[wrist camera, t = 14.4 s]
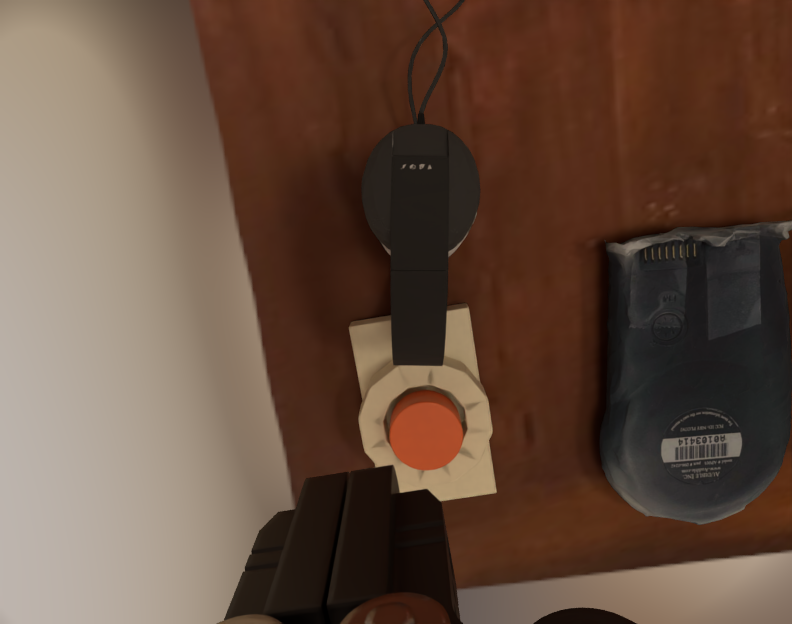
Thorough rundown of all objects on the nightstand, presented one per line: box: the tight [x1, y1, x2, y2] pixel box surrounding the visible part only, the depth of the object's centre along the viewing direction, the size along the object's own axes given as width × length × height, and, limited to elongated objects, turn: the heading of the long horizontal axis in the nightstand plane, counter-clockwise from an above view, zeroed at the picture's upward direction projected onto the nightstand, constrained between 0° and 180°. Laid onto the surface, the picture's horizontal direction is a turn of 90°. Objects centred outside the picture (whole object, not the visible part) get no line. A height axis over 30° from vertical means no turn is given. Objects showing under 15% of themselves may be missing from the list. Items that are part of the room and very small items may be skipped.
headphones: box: [361, 0, 480, 366], centre depth 28 cm, size 10×4×20 cm
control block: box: [349, 303, 496, 501], centre depth 33 cm, size 10×6×3 cm, turn 10°
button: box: [389, 390, 463, 471], centre depth 31 cm, size 3×3×2 cm
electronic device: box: [599, 220, 792, 525], centre depth 32 cm, size 9×6×15 cm
